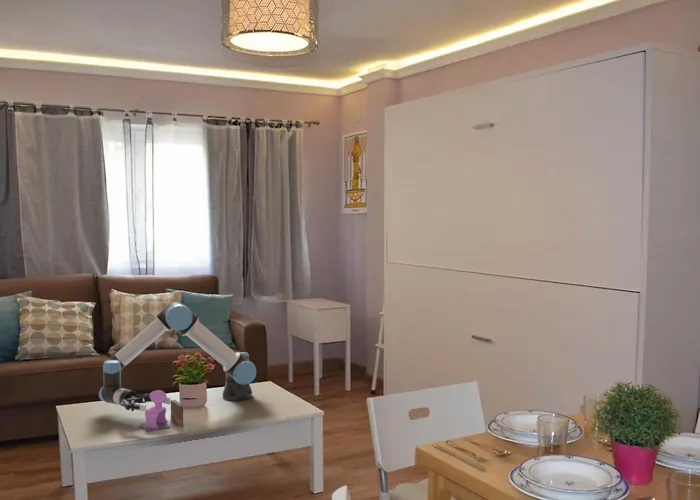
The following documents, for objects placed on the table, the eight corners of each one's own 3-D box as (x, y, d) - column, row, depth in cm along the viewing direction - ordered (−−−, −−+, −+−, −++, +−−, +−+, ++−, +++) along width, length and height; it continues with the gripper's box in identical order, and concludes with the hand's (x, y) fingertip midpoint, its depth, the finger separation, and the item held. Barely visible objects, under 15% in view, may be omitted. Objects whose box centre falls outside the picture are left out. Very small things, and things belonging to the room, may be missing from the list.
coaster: (163, 422, 298) (163, 420, 298) (169, 427, 290) (169, 426, 290) (140, 425, 293) (140, 424, 293) (146, 431, 285) (146, 430, 285)
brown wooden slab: (175, 419, 303) (175, 399, 303) (183, 425, 293) (183, 405, 293) (170, 419, 302) (170, 400, 302) (178, 426, 292) (178, 406, 292)
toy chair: (142, 427, 289) (141, 393, 288) (153, 421, 297) (152, 388, 296) (159, 428, 287) (159, 394, 286) (169, 423, 295) (169, 389, 294)
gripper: (148, 399, 312) (179, 406, 301) (102, 412, 291) (134, 420, 280) (147, 384, 312) (179, 390, 300) (102, 395, 291) (134, 402, 279)
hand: (157, 404), depth 290 cm, fingers open, 13 cm apart
